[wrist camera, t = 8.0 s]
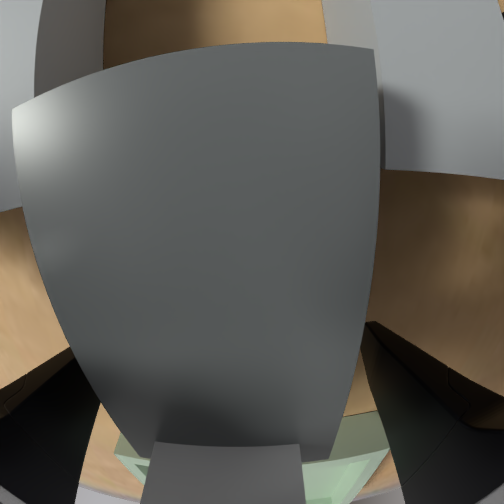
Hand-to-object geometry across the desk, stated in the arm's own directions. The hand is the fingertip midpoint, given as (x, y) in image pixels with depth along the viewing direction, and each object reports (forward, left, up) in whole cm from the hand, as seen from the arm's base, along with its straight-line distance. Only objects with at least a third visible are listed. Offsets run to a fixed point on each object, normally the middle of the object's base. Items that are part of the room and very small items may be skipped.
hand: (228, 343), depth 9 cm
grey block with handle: (0, -3, -3) cm, 4 cm away
